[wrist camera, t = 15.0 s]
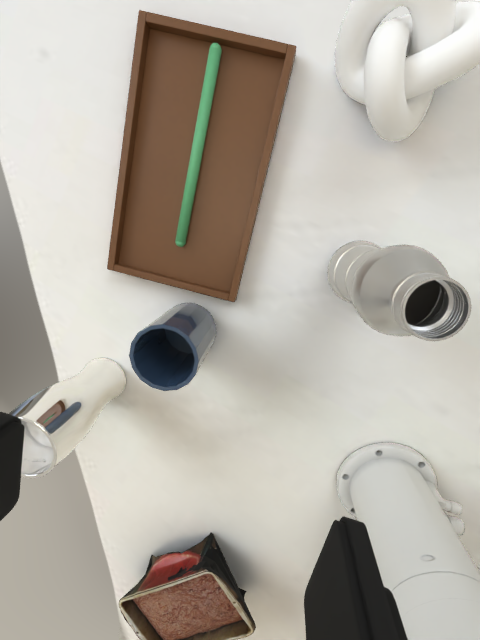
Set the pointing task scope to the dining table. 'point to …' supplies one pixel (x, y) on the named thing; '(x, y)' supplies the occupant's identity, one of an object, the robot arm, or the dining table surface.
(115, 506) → the dining table surface
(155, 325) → the tumbler
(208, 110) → the straw
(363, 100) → the white decorative knot
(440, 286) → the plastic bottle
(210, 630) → the baking dish
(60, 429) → the beer glass
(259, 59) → the tray
